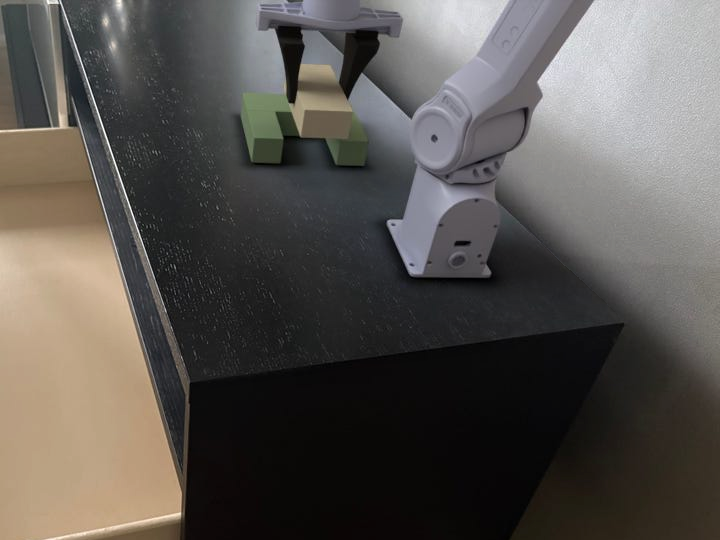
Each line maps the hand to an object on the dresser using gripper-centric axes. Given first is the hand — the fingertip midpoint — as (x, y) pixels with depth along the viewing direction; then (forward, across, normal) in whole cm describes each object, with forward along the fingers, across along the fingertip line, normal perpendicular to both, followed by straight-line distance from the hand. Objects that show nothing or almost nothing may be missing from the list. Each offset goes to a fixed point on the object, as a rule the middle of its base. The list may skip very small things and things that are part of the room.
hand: (316, 100), depth 81 cm
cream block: (+1, 0, 0) cm, 1 cm away
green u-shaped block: (+7, 0, -5) cm, 9 cm away
